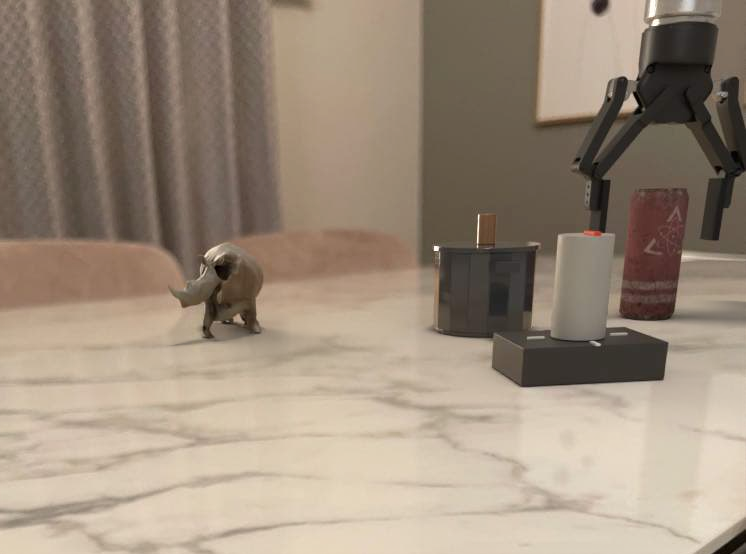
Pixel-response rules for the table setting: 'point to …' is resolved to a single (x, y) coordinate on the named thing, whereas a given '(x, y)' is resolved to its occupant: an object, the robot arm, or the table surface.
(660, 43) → the robot arm
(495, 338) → the block
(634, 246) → the can
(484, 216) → the pot lid
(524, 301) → the pot
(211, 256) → the rhinoceros figurine
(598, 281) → the knob
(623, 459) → the table surface
